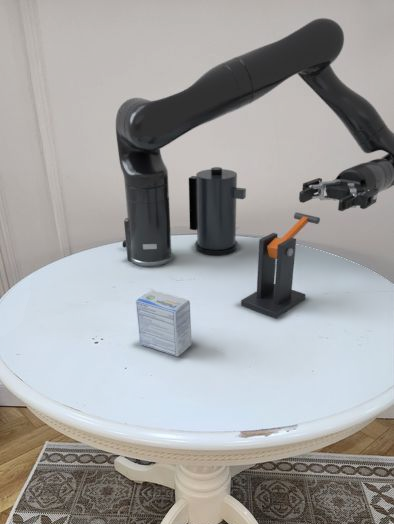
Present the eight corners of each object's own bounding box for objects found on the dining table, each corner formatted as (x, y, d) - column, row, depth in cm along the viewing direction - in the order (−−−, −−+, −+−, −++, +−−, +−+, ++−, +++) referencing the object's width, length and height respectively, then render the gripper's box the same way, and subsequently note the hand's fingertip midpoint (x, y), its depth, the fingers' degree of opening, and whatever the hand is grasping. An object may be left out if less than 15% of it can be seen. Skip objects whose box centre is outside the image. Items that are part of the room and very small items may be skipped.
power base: (271, 288, 108) (275, 226, 101) (305, 299, 103) (311, 236, 96) (240, 305, 101) (242, 241, 95) (275, 318, 97) (280, 252, 90)
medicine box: (192, 345, 89) (191, 299, 85) (177, 358, 86) (175, 311, 82) (154, 333, 93) (151, 288, 88) (138, 345, 90) (134, 299, 85)
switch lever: (297, 219, 103) (296, 208, 101) (320, 224, 100) (319, 213, 99) (262, 254, 98) (260, 244, 96) (285, 261, 95) (283, 250, 94)
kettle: (183, 251, 125) (180, 171, 115) (200, 237, 133) (199, 161, 123) (235, 259, 120) (237, 176, 111) (249, 244, 128) (253, 165, 118)
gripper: (332, 160, 114) (290, 175, 104) (395, 170, 106) (357, 188, 96) (328, 194, 118) (287, 213, 108) (389, 207, 110) (351, 228, 100)
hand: (320, 201), depth 102 cm, fingers open, 8 cm apart
